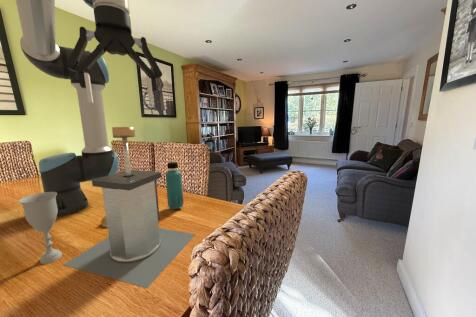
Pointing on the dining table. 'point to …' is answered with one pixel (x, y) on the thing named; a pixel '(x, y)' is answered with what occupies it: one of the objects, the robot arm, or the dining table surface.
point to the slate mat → (135, 272)
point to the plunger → (124, 143)
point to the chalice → (42, 219)
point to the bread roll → (104, 222)
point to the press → (131, 214)
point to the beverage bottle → (174, 186)
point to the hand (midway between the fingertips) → (123, 103)
